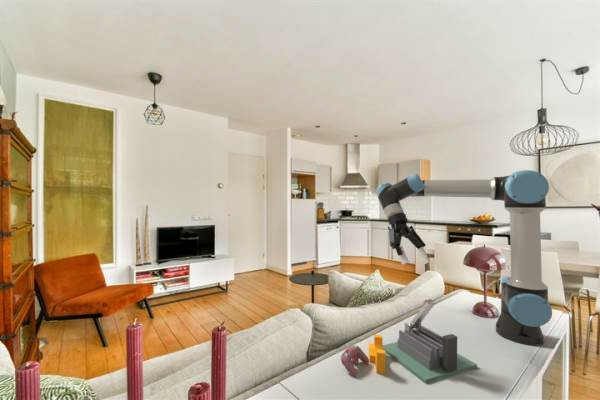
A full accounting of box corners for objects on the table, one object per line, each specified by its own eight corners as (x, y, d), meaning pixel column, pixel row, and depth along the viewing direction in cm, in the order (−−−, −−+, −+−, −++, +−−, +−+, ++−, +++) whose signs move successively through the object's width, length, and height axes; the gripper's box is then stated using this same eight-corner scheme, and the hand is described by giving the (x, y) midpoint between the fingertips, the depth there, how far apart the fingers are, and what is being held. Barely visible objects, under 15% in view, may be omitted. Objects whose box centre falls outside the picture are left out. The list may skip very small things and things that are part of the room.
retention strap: (416, 328, 101) (413, 323, 103) (436, 303, 93) (432, 298, 95) (409, 330, 100) (406, 324, 101) (429, 305, 92) (425, 299, 94)
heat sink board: (426, 338, 109) (426, 308, 109) (477, 367, 90) (477, 332, 90) (380, 348, 100) (380, 316, 100) (425, 383, 81) (425, 344, 81)
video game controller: (359, 364, 93) (351, 342, 95) (371, 362, 91) (362, 340, 93) (344, 378, 85) (336, 354, 87) (356, 377, 83) (347, 352, 85)
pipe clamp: (368, 352, 98) (369, 333, 98) (381, 353, 97) (381, 335, 97) (370, 372, 86) (371, 351, 86) (385, 374, 86) (385, 353, 86)
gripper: (407, 222, 129) (427, 266, 118) (369, 217, 116) (388, 267, 105) (420, 214, 124) (442, 259, 113) (382, 208, 111) (403, 259, 100)
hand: (416, 263), depth 109 cm, fingers open, 13 cm apart
